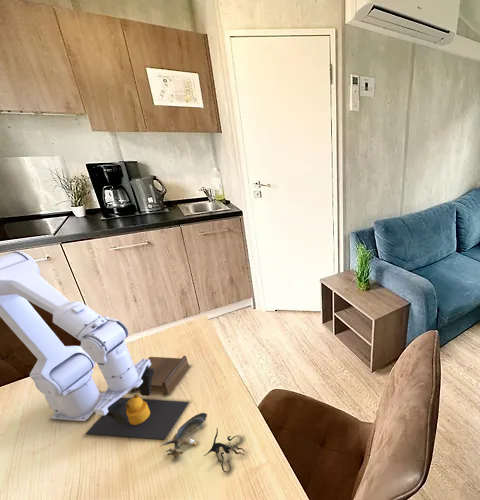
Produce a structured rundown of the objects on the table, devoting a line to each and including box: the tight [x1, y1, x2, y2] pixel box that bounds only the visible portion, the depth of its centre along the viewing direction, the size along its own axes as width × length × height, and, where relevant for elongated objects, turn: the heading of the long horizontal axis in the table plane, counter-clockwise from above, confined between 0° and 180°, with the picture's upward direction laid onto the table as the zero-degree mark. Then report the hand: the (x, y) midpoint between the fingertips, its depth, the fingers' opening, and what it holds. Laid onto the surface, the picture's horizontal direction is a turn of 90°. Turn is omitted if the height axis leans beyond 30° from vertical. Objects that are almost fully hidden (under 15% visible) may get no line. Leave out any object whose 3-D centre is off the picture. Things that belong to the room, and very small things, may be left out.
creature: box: [203, 428, 246, 473], centre depth 64 cm, size 8×5×8 cm
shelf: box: [128, 355, 190, 396], centre depth 84 cm, size 12×10×5 cm
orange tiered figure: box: [126, 393, 150, 425], centre depth 72 cm, size 4×4×7 cm
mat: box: [85, 397, 189, 441], centre depth 73 cm, size 20×10×1 cm, turn 86°
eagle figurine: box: [159, 412, 208, 460], centre depth 67 cm, size 8×7×9 cm
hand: (135, 407), depth 72 cm, fingers open, 7 cm apart
